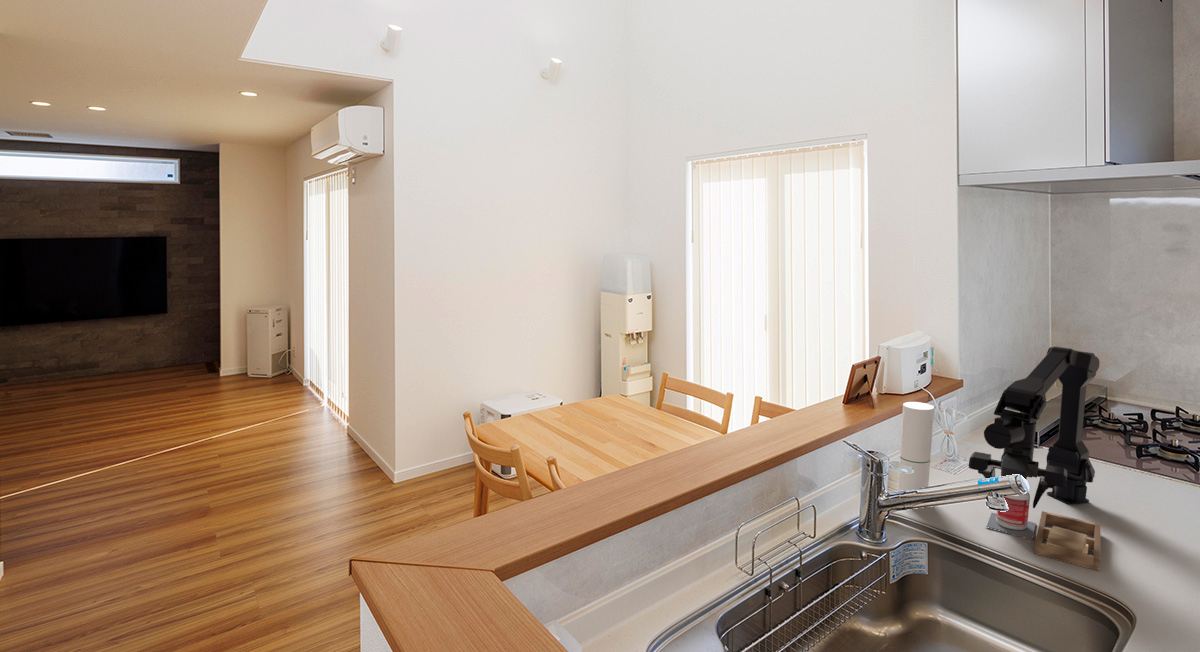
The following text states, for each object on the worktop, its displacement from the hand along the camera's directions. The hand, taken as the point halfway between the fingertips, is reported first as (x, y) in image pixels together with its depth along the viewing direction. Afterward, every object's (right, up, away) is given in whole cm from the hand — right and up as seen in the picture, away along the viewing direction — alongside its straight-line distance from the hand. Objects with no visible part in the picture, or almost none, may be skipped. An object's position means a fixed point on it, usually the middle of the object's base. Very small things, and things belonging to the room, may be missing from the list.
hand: (1013, 502), depth 144 cm
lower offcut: (+4, -8, -11) cm, 14 cm away
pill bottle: (0, -6, +1) cm, 6 cm away
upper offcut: (+4, -6, -11) cm, 13 cm away
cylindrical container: (-15, -4, +18) cm, 23 cm away
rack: (+7, -7, -7) cm, 13 cm away
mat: (0, -6, +1) cm, 6 cm away
